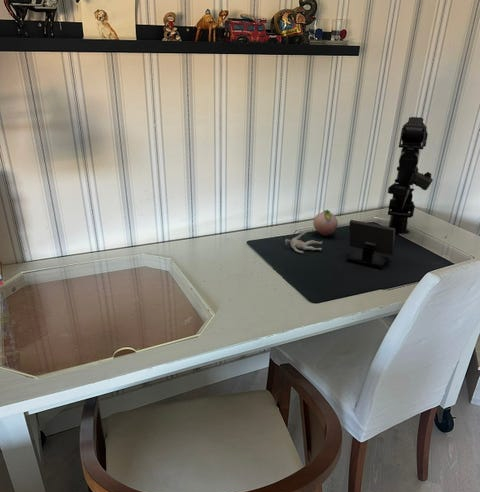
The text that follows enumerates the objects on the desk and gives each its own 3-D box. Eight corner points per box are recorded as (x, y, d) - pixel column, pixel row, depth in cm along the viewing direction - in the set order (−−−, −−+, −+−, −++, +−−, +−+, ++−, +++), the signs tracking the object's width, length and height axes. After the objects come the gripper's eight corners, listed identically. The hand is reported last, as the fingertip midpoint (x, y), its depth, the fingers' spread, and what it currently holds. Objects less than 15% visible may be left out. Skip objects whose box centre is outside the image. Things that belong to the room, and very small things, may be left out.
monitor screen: (351, 243, 162) (350, 219, 155) (393, 252, 155) (395, 228, 148) (349, 247, 161) (348, 222, 154) (391, 256, 154) (393, 231, 147)
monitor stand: (355, 253, 164) (357, 238, 162) (388, 260, 159) (391, 245, 157) (347, 261, 157) (349, 246, 155) (380, 269, 152) (383, 253, 150)
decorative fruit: (309, 231, 182) (312, 205, 178) (331, 231, 183) (334, 205, 178) (315, 240, 173) (318, 213, 169) (338, 240, 174) (341, 213, 170)
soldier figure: (321, 257, 162) (288, 247, 160) (314, 262, 167) (282, 252, 164) (323, 236, 165) (291, 226, 162) (317, 241, 170) (285, 231, 167)
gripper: (427, 172, 152) (417, 220, 159) (438, 162, 166) (429, 206, 173) (391, 168, 157) (383, 214, 164) (405, 158, 171) (398, 201, 178)
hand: (400, 209), depth 169 cm, fingers closed
